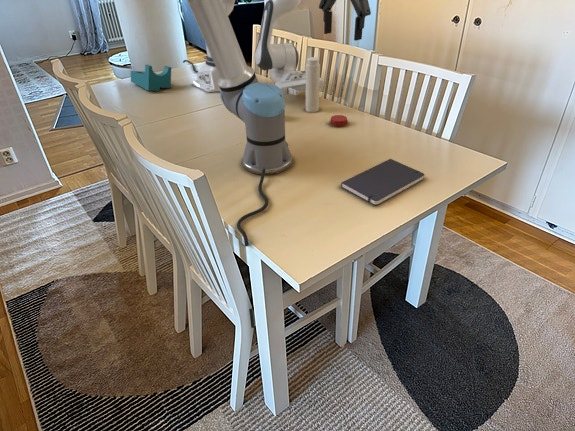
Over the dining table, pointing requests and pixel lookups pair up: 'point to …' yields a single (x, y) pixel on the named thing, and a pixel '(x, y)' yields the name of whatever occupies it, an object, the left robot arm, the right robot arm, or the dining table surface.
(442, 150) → the dining table surface
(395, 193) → the notebook
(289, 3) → the left robot arm
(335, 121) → the lid
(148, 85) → the teal notched cradle block
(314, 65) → the jar
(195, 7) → the right robot arm
